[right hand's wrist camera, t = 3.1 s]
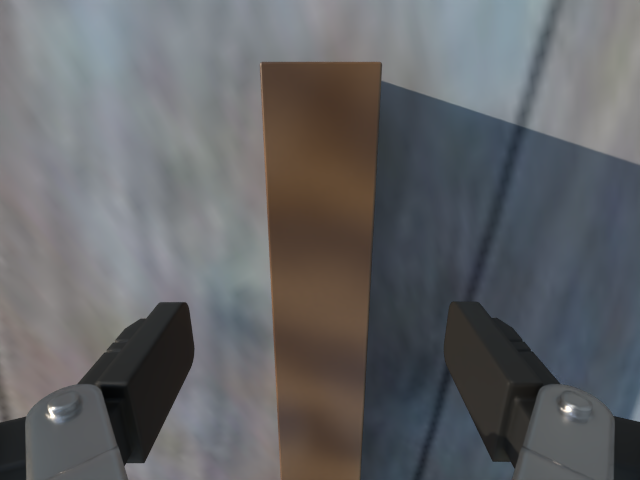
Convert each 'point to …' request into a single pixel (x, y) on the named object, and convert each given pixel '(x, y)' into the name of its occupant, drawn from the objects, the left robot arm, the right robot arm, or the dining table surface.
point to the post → (320, 256)
